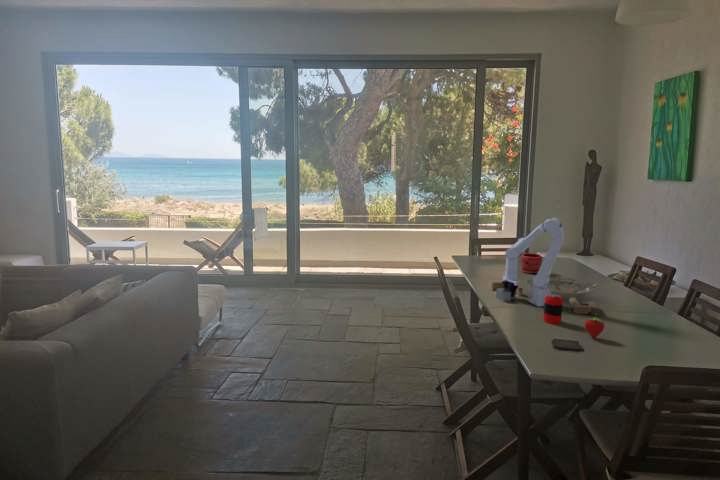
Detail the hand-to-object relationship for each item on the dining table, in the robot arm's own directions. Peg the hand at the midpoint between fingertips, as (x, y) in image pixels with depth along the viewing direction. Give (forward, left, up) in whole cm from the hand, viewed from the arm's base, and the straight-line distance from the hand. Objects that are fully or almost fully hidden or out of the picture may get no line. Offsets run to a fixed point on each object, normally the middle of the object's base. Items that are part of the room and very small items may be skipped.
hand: (509, 295), depth 258 cm
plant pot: (+59, -45, -2) cm, 74 cm away
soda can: (-39, -1, -2) cm, 39 cm away
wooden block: (-32, -24, 0) cm, 39 cm away
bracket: (-2, +2, -1) cm, 3 cm away
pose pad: (+8, -2, -1) cm, 8 cm away
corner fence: (+10, -4, -1) cm, 11 cm away
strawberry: (-61, -6, -2) cm, 61 cm away
